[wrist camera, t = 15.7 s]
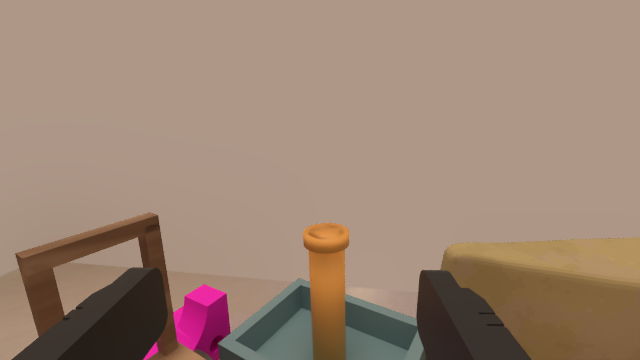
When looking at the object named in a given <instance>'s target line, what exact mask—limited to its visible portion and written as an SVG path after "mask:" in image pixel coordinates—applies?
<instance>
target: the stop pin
mask: <svg viewBox="0 0 640 360" xmlns="http://www.w3.org/2000/svg"><path fill="white" fill-rule="evenodd" d="M303 239H304V246H305V248H306V249H307V250H309V268H310V269H309V270H310V294H311V318H312V342H313V360H346V330H345V251H344V249H346V248H347V247H348V245H349V230H348V229H347V228H346V227H344V226H342V225H339V224H334V223H322V224H315V225H312V226H309V227H307V228H306V229H305V230H304V232H303Z"/></svg>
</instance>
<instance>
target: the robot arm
mask: <svg viewBox="0 0 640 360" xmlns="http://www.w3.org/2000/svg"><path fill="white" fill-rule="evenodd" d="M167 318H168V309H167V303H166V297H165V290H164V284H163V277H162V273H161V271H160V269H158V268H130V269H129V270H127V271H126V272H125V273H124V274H122V275H121V276H120V277H119V278H118V279H116V280H115V281H114V282H113V283H112V284H110V285H108V286H106V287H105V288H103V289H101V290H99V291H97V292H95V293H93V294H91V295H90V296H89V297H88V298H87V299H85V300H84V301H83V302H82V303H80V304H79V305H78V306H77V307H76V309H75V310H72V311H71V312H69V313H68V314H67V315H66V316H64V317H63V320H62V321H58V322H57V323H56V324H55V325H53V326H52V327H51V328H50V329H48V330H47V331H46V332H45V333H44V334H42V335H41V336H40V337H39V338H37V339H36V340H35V341H34V342H33V343H31V344H30V345H29V346H28V347H26V348H25V349H24V350H23V351H22V352H20V353H19V354H18V355H17V356H15V357H14V358H13V359H12V360H143V359H144V358H145V357H146V355H147V354H148V352H149V351H150V350H151V348H152V347H153V345H154V344H155V343H156V341H157V340H158V338H159V337H160V336H161V334H162V333H163V331H164V329H165V326H166V323H167ZM417 328H418V333H419V337H420V340H421V342H422V345H423V348H424V350H425V353H426V356H427V358H428V360H532V359H531V358H530V357H529V356H528V354H527V353H526V352H525V350H524V349H523V348H522V347H521V345H520V344H519V343H518V341H517V340H516V339H515V338H514V336H513V335H512V334H511V332H510V331H509V330H508V329H507V327H504V323H503V322H502V321H501V320H500V318H499V317H498V316H497V315H495V312H494V311H493V309H492V308H491V307H490V305H489V304H488V303H487V302H486V300H485V299H484V298H482V297H481V296H479V295H478V294H477V293H475V292H474V291H472V290H471V289H469V288H461V287H460V286H459V285H458V283H457V282H456V280H455V279H454V277H453V276H452V275H451V273H450V272H449V271H447V270H422V271H421V273H420V278H419V291H418V303H417Z"/></svg>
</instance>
